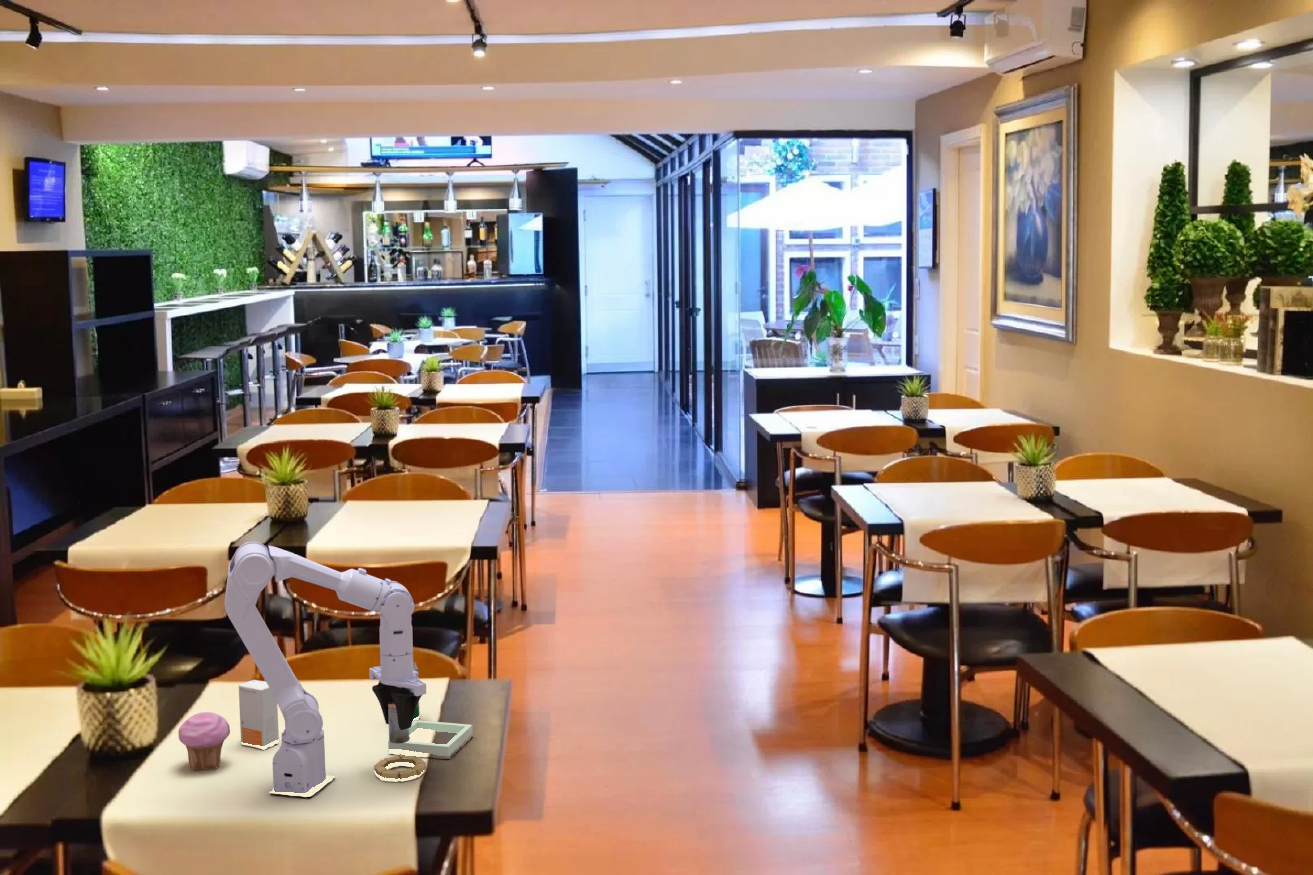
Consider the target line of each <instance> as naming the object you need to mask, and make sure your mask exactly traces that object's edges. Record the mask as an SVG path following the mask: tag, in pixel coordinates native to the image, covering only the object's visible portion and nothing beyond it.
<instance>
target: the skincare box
mask: <svg viewBox="0 0 1313 875" xmlns="http://www.w3.org/2000/svg"><path fill="white" fill-rule="evenodd" d="M238 700H239V704H238V705H239V721H240V722H239V725H240V726H239V727H240V728H239V729H240V743H241V742H243V743H248V744H252V745H260V746H265V745H267V744H269V743H271V742H273V741H275V740H278V739H279V740H280V732H279V730H280V729H279V713H278V712H279V711H278V710H279V709H278V708H279V707H278V703H277V701H276V699H275V697H274V695H273V693H272V691H271V690H270V688H269V686H268V684H267V683H266V681H265V680H264V681H263V680H257V679H252V680H249V681H245V682H243V683H241V684H239V685H238Z"/></svg>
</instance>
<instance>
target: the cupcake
mask: <svg viewBox="0 0 1313 875" xmlns="http://www.w3.org/2000/svg"><path fill="white" fill-rule="evenodd" d="M230 734H231V728H230V724H229V723H228V721H227V719H226V718H225V717H223V716H221V715H219V714H217V713H215V712H210V711H209V712H208V711H206V712H205V711H204V712H199V713H195V714H193V715H191V716H190V717H188V718H187V719H186V720H185V721H184V722H182V723H181V725H180V726H179V728H178V740H179V741H180V743H181V744H183V745H184V746H185V748H186V749H187V751H186V752H187V755H188V756H187V757H188V758H187V759H188V765H189V767H190V769H192V770H193V771H200V770H208V769H209V770H210V768H214V769H217V768H216V767H218V766H219V767H220V764H221V763H220V762H221V754H222V749H223V744H224V742H225V740H226V739H228V737H229V736H230ZM219 767H218V768H219Z"/></svg>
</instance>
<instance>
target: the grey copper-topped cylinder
mask: <svg viewBox="0 0 1313 875" xmlns="http://www.w3.org/2000/svg"><path fill="white" fill-rule="evenodd" d="M388 720H389V724H388V741H389V742H391V743H396V744H399V743H405V742H408V741H409V740H410V737H409V728H408V729H404V730H400V729H399V725H398V717H397V710H396V706H395V703H394V700H391V701H389V702H388Z"/></svg>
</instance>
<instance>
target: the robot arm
mask: <svg viewBox="0 0 1313 875" xmlns="http://www.w3.org/2000/svg"><path fill="white" fill-rule="evenodd" d="M267 546H268V547H267ZM267 546H266V545H264V544H263V543H261V542H259V541H248V542H245V543H243V544H241V545H240V546H239V547H238V548H237V549H236V551H235V552H234V554H233V556H232V558H231V560H230V562H229V564H228V571H227V580H226V581H227V582H226V587H225V594H224V595H225V596H224V610H225V612H226V615H227V616H228V619H229V620H230V621H231V624H232V625H233V627H234V629H235V630H236V632H237V634H238V636H239V637H240V639H241V641H242V643H243V644H244V646H245V647H246V649H247V651H248V653H249V655H250V657H251V658H252V660H253V662H254V663H255V665H256V667H257V669H258V670H259V672H260V674H261V675H262V678H263V679H264V681H265V682H266V683H267V684H268V686H269V688H270V690H271V691H272V693H273V695H274V697H275V699H276V701H277V707H278V708H279V710H280V712H281V714H282V717H283V720H284V730H283V732H281V742H280V746H279V748H278V750H277V751H276V752H275V753H274V755H273V756H272V757H273V758H272V780H273V782H272V783H273V788H274V791H275V792H294V793H306V792H308V791H309V790H310V789H311V788H312V787H315V786H316V785H318V784H320V783H322V782H323V781H324V780H325V779H326V775H327V774H326V755H325V753H326V752H325V749H326V748H325V731H324V729H323V727H324V726H323V725H324V721H323V716H322V714H321V713H320V710H319V709H320V708H319V703H318V700H317V699H316V697H315V696H314V695H312V694H311V693H309V692H307V690H305V688H304V687H303V685H302V683H301V682H300V681H299V680H298V678H297V677H296V675H295V673H294V672H293V670H292V668H291V666H290V665H289V663H288V661H287V659H286V658H285V655H284V653H283V652H282V651H281V649H280V647H279V645H278V643H277V641H276V640H275V638H274V636H273V634H272V632H271V631H270V629H269V628H268V626H267V624H266V622H265V621H264V619H263V617H262V615H261V613H260V612H259V610H258V608H257V607H256V605H257V602H258V599H259V598H260V595H261V592H262V591H263V590H264V588H266V587H267V586H268V584H269V583H270V582H271V581H272V578H273V577H274V581H275V583H278V582H281V581H284V580H287V579H290V578H294V579H298V580H301V581H304V582H308V583H311V584H314V585H318V586H320V587H323V588H325V589H326V588H327V589H330V590H333V591H335V594H336V595H337V597H338V598H337V599H338V600H340V601H343V602H345V603H348V604H351V605H353V606H357V607H360V608H363V609H365V610H368V611H371V612H380V615H379V616H380V617H379V620H380V621H379V623H380V625H379V656H380V657H379V658H380V660H379V661H380V663H379V664H380V666H373V667H370V668H368V670H369V671H368V672H369V673H368V674H369V679H370V680H373V681H374V680H377V681H378V684H375V685H374V684H373V686H371V690H372V692H373V694H374V695H375V696H376V699H377V700H378V703H379V706H380V709H381V712H382V715H383V719H384V722H385V724H386V725H389V720H388V702H389V701H391V700H394V703H395V706H396V710H397V717H398V725H399V729H400V730H404V729H408V728H411V725H412V721H413V717H414V713H415V709H416V706H417V704H418V702H419V703H420V700H421V698H422V696H423V695H426V694H427V683H426V682H423V681H422V680H421V679H420V678H419V671H418V672H417V671H414V670H413V662H414V647H413V646H414V645H413V641H414V640H413V625H412V621H413V620H412V614H414V611H415V607H416V606H415V605H416V604H415V603H414V599H413V597H412V595H411V594H410V591H408V588H406V587H405V586H404V585H403V584H401V583H400V582H398V581H395V580H391V579H389V578H384V580H383V579H381V578H378V577H376V576H373V575H370V574H368V573H367V570H366V569H365V568H362V567H359V568H358V569H354V568H350V569H347V570H346V571H338V570H336V569H333V568H331V567H328V566H326V565H323V564H321V563H318V562H316V561H314V560H311V559H308V558H305V557H303V556H301V555H299V554H295V553H294V552H291V551H289V550H286V549H285V550H284V549H282V548H279V547H276V546H273V545H267ZM417 676H418V677H417Z"/></svg>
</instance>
